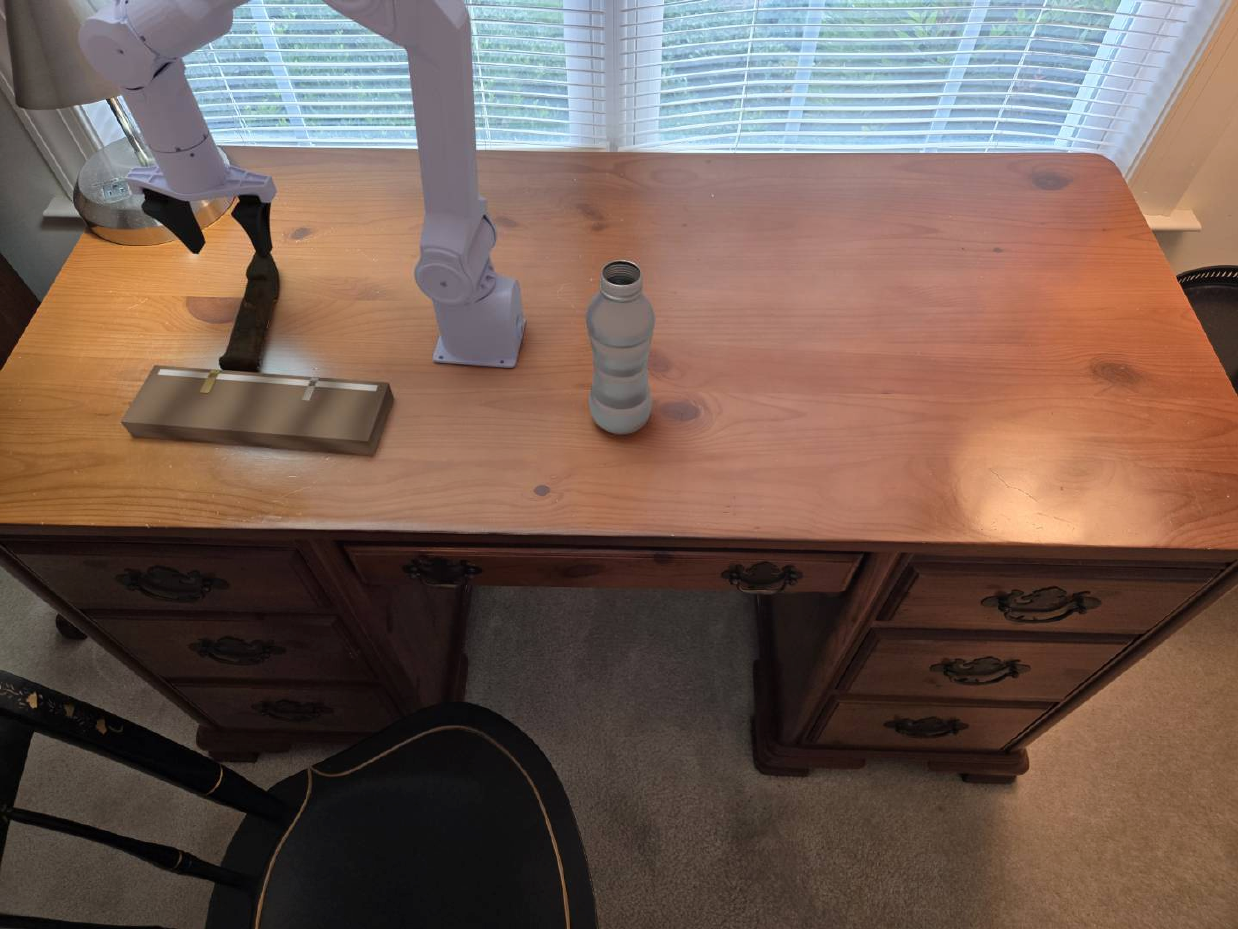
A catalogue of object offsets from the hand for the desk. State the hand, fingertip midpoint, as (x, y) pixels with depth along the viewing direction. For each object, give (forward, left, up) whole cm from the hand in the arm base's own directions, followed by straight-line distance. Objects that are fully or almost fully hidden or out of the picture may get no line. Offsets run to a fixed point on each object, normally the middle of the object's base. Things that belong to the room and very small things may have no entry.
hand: (232, 250), depth 87 cm
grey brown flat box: (-6, +15, -9) cm, 19 cm away
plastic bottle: (-44, +12, -10) cm, 47 cm away
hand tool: (0, +1, -10) cm, 10 cm away
